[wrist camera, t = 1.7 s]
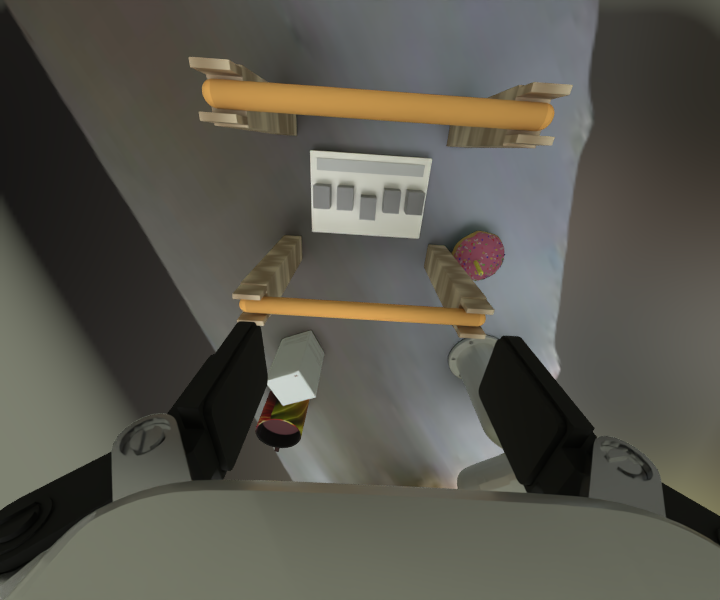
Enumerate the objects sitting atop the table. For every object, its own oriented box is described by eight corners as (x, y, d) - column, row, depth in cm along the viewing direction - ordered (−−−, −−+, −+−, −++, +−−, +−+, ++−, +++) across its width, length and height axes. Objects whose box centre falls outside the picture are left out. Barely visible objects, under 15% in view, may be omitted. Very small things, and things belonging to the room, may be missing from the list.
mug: (285, 416, 74) (272, 461, 63) (266, 379, 67) (247, 422, 57) (320, 411, 73) (312, 456, 62) (303, 373, 66) (292, 416, 56)
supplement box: (281, 338, 61) (262, 380, 50) (311, 329, 60) (299, 370, 49) (296, 362, 64) (281, 407, 53) (325, 354, 63) (316, 398, 52)
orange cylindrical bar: (483, 306, 33) (490, 315, 32) (479, 320, 34) (485, 330, 32) (242, 291, 33) (235, 300, 31) (244, 306, 34) (237, 315, 32)
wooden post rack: (473, 113, 40) (573, 81, 21) (439, 267, 52) (484, 340, 33) (274, 99, 40) (187, 53, 20) (286, 258, 52) (238, 325, 32)
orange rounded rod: (549, 105, 24) (563, 101, 22) (540, 132, 25) (553, 131, 23) (207, 80, 23) (194, 75, 21) (212, 109, 24) (200, 106, 22)
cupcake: (444, 271, 53) (463, 303, 42) (445, 227, 49) (467, 249, 38) (490, 267, 52) (521, 297, 42) (495, 222, 48) (532, 243, 38)
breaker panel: (428, 158, 43) (436, 159, 38) (416, 233, 49) (422, 244, 44) (313, 150, 43) (306, 150, 38) (314, 227, 49) (308, 236, 44)
